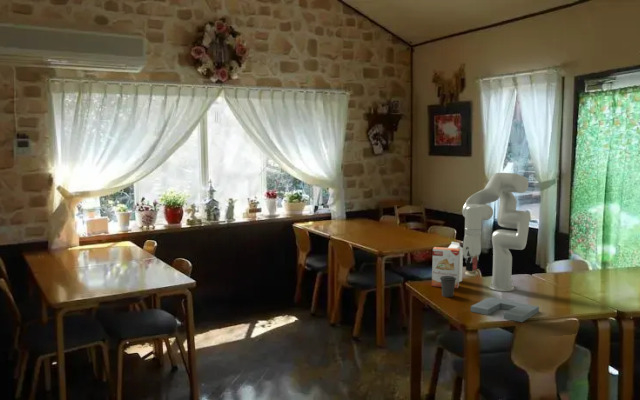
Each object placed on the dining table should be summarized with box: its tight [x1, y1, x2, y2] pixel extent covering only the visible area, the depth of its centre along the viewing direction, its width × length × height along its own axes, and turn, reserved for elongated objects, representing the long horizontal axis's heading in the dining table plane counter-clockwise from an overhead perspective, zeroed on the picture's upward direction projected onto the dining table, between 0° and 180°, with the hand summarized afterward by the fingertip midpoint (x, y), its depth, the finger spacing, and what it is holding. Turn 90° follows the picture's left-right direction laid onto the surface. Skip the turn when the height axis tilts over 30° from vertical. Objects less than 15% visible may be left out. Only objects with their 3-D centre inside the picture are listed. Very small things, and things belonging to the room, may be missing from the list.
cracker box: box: [431, 246, 460, 289], centre depth 306 cm, size 14×6×21 cm, turn 70°
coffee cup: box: [440, 276, 456, 298], centre depth 288 cm, size 8×8×10 cm
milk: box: [447, 241, 464, 283], centre depth 318 cm, size 6×6×22 cm
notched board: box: [470, 297, 540, 323], centre depth 262 cm, size 20×24×2 cm
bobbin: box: [464, 254, 479, 277], centre depth 271 cm, size 6×6×10 cm
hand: (471, 269), depth 271 cm, fingers closed on bobbin, 4 cm apart
